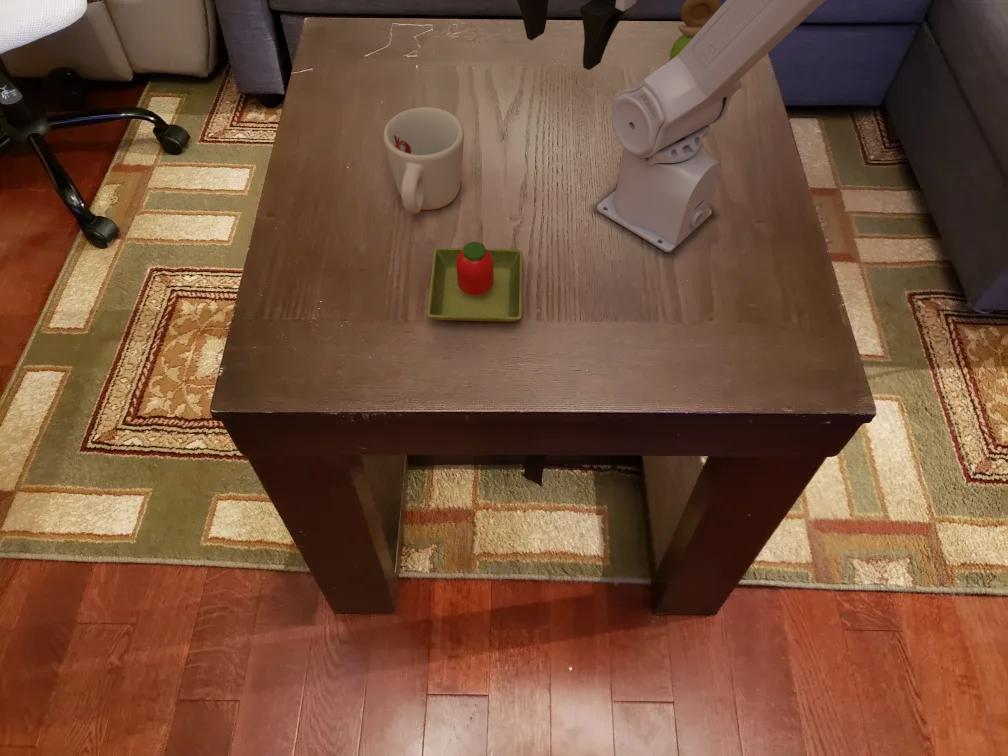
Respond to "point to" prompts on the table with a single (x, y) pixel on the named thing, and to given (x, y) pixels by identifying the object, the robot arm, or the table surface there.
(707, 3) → the snail figurine
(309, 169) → the table surface
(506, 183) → the table surface
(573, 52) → the table surface
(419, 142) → the cup
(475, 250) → the strawberry
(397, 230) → the table surface
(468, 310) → the green square tray
